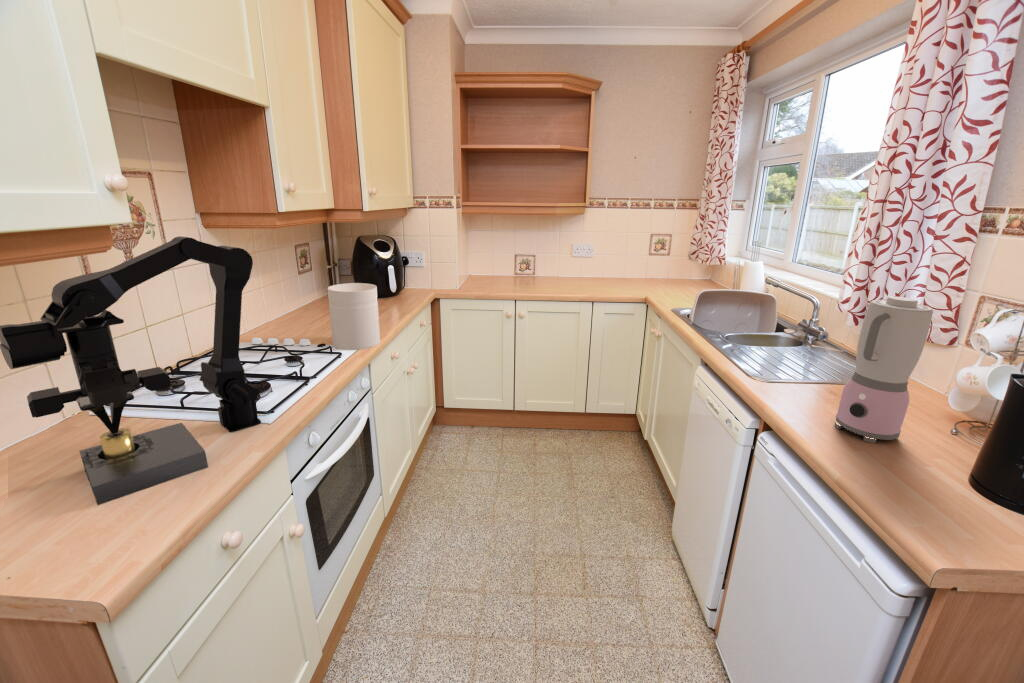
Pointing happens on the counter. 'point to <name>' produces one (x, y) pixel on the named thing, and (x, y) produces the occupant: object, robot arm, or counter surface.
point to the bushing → (117, 444)
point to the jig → (144, 463)
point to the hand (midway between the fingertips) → (114, 432)
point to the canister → (354, 315)
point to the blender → (884, 368)
